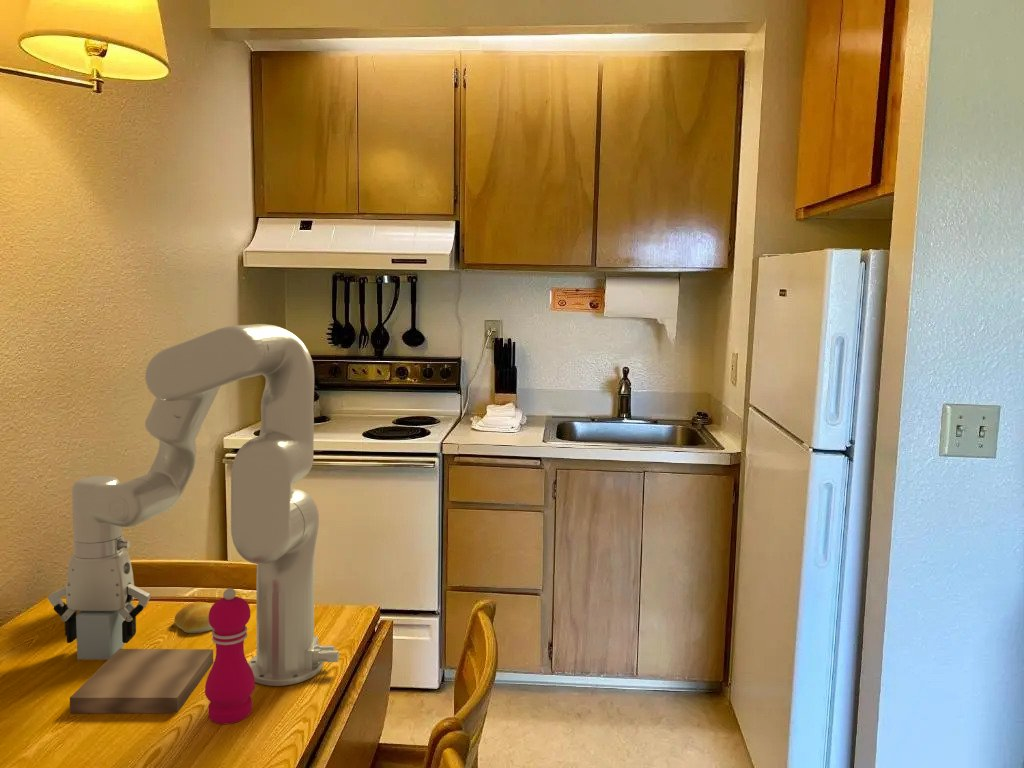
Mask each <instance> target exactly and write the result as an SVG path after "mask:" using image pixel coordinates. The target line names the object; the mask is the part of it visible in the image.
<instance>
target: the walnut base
mask: <svg viewBox="0 0 1024 768" xmlns="http://www.w3.org/2000/svg"><path fill="white" fill-rule="evenodd" d="M213 664H214V649H212V648H209V649H207V648H206V649H205V648H204V649H202V648H200V649H199V648H196V649H193V648H189V649H188V648H181V649H180V648H121V649H119V650H118V651H117V652H116V653H115V654H114V655H113V656H112V657H111V658H110V659H106V661H105V662H104V663H103V664H102V665H101V666H100V667H99V668H98V669H97V670H96V671H95V672H94V673H93V674H92V675H91V676H90V677H89V678H88V679H87V680H86V681H85V682H84V683H83V684H82V685H80V686H79V688H78V689H77V690H76V691H75V692H74V693H73V694H71V696H70V697H69V712H70V713H69V714H178V713H179V712H180V710H181V709H182V708H183V706H184V705H185V703H186V701H188V699H189V698H190V696H191V695H192V694H193V692H194V691H195V689H196V688H197V686H198V685H199V684H200V683H201V681H202V680H203V678H204V677H205V675H206V674H207V673H208V671H209V670H210V669H211V668H212V666H213Z"/></svg>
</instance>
